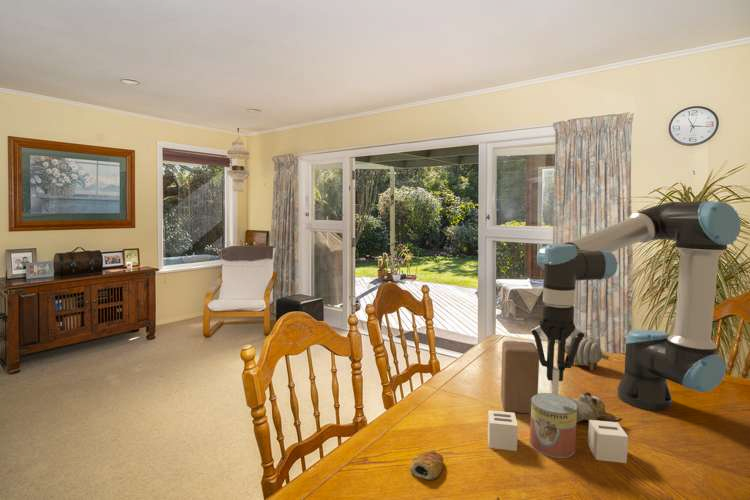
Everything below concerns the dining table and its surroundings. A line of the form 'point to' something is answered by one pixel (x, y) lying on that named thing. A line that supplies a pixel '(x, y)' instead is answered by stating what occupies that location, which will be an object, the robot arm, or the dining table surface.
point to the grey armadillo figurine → (587, 353)
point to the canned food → (553, 425)
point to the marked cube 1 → (502, 430)
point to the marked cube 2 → (607, 441)
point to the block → (519, 375)
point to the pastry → (427, 465)
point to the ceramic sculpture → (592, 409)
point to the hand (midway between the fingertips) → (554, 391)
